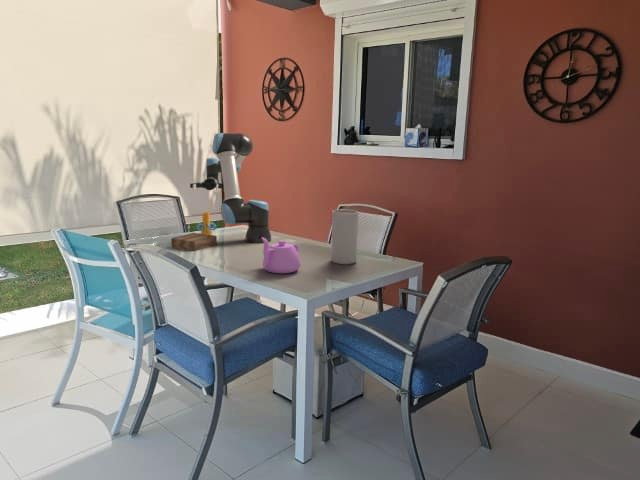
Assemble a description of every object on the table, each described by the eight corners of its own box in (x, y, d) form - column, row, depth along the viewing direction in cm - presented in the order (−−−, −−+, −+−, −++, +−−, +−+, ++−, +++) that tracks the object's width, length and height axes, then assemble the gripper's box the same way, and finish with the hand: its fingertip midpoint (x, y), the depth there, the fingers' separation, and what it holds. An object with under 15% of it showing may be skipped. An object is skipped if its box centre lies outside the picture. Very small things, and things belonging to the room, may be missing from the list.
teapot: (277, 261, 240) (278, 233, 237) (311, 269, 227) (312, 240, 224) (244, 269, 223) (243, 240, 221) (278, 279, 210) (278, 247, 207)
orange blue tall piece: (219, 236, 295) (218, 211, 292) (213, 239, 285) (213, 214, 282) (199, 235, 296) (198, 210, 293) (193, 238, 286) (192, 213, 283)
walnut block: (216, 244, 272) (216, 235, 271) (194, 250, 257) (194, 241, 256) (194, 241, 279) (194, 232, 278) (171, 247, 264) (171, 238, 263)
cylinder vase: (360, 260, 244) (362, 211, 239) (349, 266, 233) (351, 214, 228) (338, 257, 250) (340, 208, 245) (326, 262, 240) (327, 211, 234)
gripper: (230, 190, 314) (226, 194, 293) (190, 189, 312) (183, 193, 291) (230, 178, 312) (226, 181, 292) (190, 177, 310) (183, 180, 290)
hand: (205, 187), depth 291 cm, fingers open, 13 cm apart
